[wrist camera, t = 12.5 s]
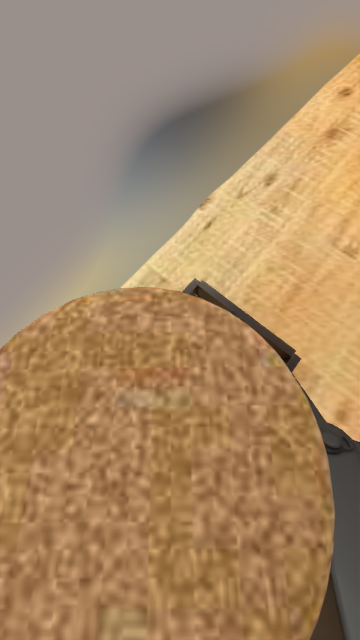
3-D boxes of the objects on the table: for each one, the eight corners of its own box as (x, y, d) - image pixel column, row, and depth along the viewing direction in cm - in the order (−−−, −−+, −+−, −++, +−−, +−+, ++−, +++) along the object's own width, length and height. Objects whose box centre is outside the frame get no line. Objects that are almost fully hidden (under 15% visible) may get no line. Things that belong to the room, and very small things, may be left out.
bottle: (125, 425, 16) (-293, 709, 2) (152, 351, 18) (29, 209, 4) (200, 453, 16) (379, 1153, 1) (221, 374, 17) (410, 315, 3)
